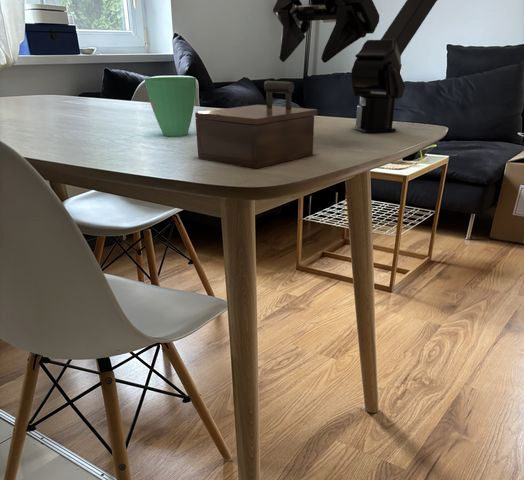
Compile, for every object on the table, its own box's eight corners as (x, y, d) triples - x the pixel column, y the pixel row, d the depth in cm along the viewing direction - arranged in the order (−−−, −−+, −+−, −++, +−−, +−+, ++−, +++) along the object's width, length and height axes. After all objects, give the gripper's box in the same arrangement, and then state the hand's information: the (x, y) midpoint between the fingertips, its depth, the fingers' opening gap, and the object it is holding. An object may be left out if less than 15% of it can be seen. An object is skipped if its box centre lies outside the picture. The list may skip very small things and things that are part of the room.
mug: (203, 136, 100) (200, 78, 94) (153, 139, 97) (146, 80, 92) (192, 126, 112) (188, 75, 107) (146, 129, 109) (140, 76, 104)
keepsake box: (255, 146, 90) (254, 110, 87) (312, 155, 82) (314, 115, 79) (198, 158, 81) (195, 118, 78) (256, 168, 74) (256, 125, 71)
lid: (258, 109, 87) (257, 79, 85) (317, 115, 80) (318, 82, 78) (195, 118, 78) (192, 84, 76) (256, 125, 71) (255, 88, 68)
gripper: (277, -62, 83) (234, 24, 83) (372, -80, 72) (323, 20, 72) (309, -6, 92) (271, 72, 92) (399, -14, 81) (355, 75, 81)
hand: (301, 60), depth 84 cm, fingers open, 9 cm apart
